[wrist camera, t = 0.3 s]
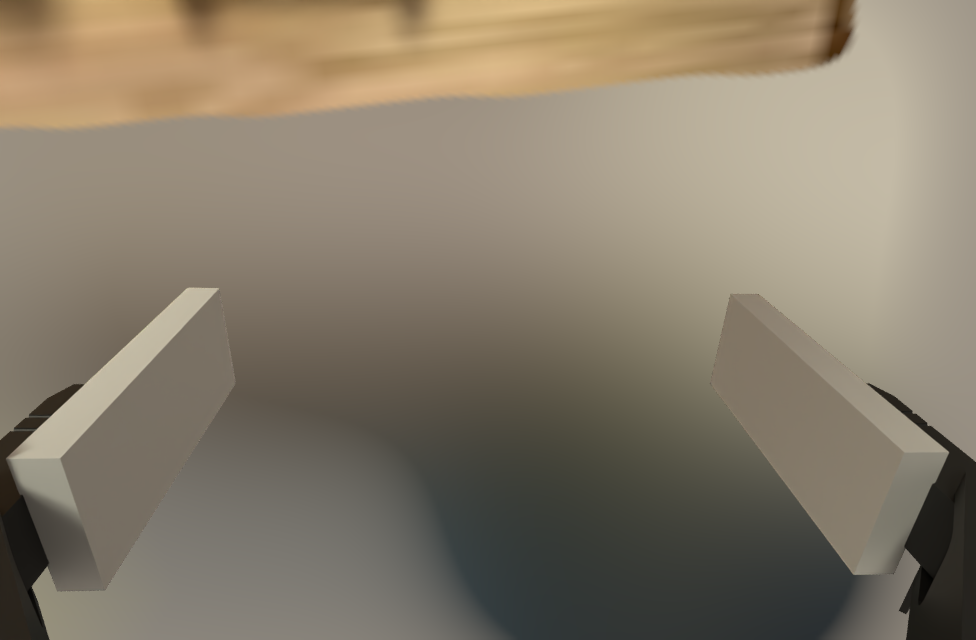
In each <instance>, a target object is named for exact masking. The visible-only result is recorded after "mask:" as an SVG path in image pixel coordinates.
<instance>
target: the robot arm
mask: <svg viewBox="0 0 976 640" xmlns="http://www.w3.org/2000/svg"><path fill="white" fill-rule="evenodd" d="M710 384H711V385H712V386H713V388H714V389H715V391H716V392H717V393H718V395H719V396H720V397H721V399H722V400H723V401H724V403H725V404H726V405H727V407H728V408H729V409H730V411H731V412H732V413H733V415H734V416H735V417H736V419H737V420H738V421H739V423H740V424H741V425H742V427H743V428H744V429H745V431H746V432H747V433H748V435H749V436H750V437H751V439H752V440H753V441H754V443H755V444H756V445H757V447H758V448H759V449H760V451H761V452H762V453H763V455H764V456H765V457H766V458H767V460H768V461H769V463H770V464H771V465H772V467H773V468H774V469H775V471H776V472H777V473H778V475H779V476H780V477H781V479H782V480H783V481H784V482H785V484H786V485H787V487H788V488H789V489H790V491H791V492H792V493H793V495H794V496H795V497H796V499H797V500H798V501H799V502H800V504H801V505H802V506H803V508H804V509H805V511H806V512H807V513H808V515H809V516H810V517H811V518H812V520H813V521H814V523H815V524H816V525H817V527H818V528H819V529H820V531H821V532H822V533H823V535H825V537H826V539H827V540H828V541H829V543H830V544H831V545H832V547H833V548H834V549H835V551H836V552H837V553H838V554H839V556H840V557H841V559H842V560H843V561H844V563H845V564H846V565H847V567H848V568H849V569H850V570H851V572H852V573H853V574H854V575H867V574H894V572H895V570H896V568H897V566H898V563H899V561H900V559H901V557H902V555H903V553H904V550H905V548H906V549H907V550H908V551H909V552H910V554H911V555H912V556H913V557H914V558H915V559H916V560H917V561H918V563H919V564H920V565H921V566H920V568H919V570H918V572H917V574H916V576H915V578H914V580H913V582H912V584H911V587H910V589H909V591H908V593H907V595H906V597H905V599H904V601H903V603H902V605H901V607H900V610H899V611H901V612H903V613H905V614H906V613H907V612H908V610H909V609H910V612H909V620H908V630H907V637H906V640H976V462H975V461H974V460H973V459H971V458H970V457H969V456H968V455H966V454H965V453H964V452H963V451H962V450H960V449H959V448H958V447H956V446H955V445H954V444H953V443H952V442H950V441H949V440H948V439H946V438H945V437H944V436H943V435H942V434H940V433H939V432H938V431H937V430H935V429H934V428H933V427H931V426H927V422H925V421H924V420H923V419H921V417H919V416H918V415H917V414H913V413H912V410H911V409H909V408H908V407H907V406H906V405H904V404H903V403H902V402H901V401H899V400H898V399H897V398H896V397H894V396H893V395H891V394H889V393H887V392H885V391H883V390H881V389H879V388H877V387H875V386H873V385H871V384H866V383H865V382H864V381H863V380H861V379H860V378H859V377H857V375H855V374H854V373H853V372H852V371H850V370H849V369H848V368H847V367H846V366H844V365H843V364H842V363H841V362H840V361H838V360H837V359H836V358H835V357H833V356H832V355H831V354H830V353H829V352H827V351H826V350H825V349H824V348H823V347H822V346H820V345H819V344H818V343H817V342H816V341H814V340H813V339H812V338H811V337H810V336H808V335H807V334H806V333H805V332H803V331H802V330H801V329H800V328H799V327H797V326H796V325H795V324H794V323H793V322H791V321H790V320H789V319H788V318H787V317H785V316H784V315H783V314H782V313H781V312H779V311H778V310H777V309H776V308H775V307H773V306H772V305H771V304H770V303H769V302H767V301H766V300H765V299H764V298H763V297H761V296H760V295H759V294H730V298H729V303H728V308H727V312H726V316H725V321H724V325H723V329H722V334H721V338H720V342H719V347H718V351H717V356H716V360H715V365H714V369H713V373H712V378H711V382H710ZM234 385H235V377H234V371H233V366H232V360H231V354H230V347H229V342H228V336H227V330H226V325H225V318H224V313H223V307H222V301H221V295H220V289H219V288H187V289H186V290H185V291H184V292H183V293H182V294H181V295H180V296H178V297H177V298H176V299H175V300H174V301H173V302H172V303H171V304H170V305H169V306H168V307H167V308H166V309H165V310H164V311H162V312H161V314H159V315H158V316H157V317H156V318H155V319H154V320H153V321H152V322H151V323H150V324H149V325H148V326H147V327H145V328H144V329H143V330H142V331H141V332H140V333H139V334H138V335H137V336H136V337H135V338H134V339H133V340H132V341H131V342H129V344H127V345H126V346H125V347H124V348H123V349H122V350H121V351H120V352H119V353H118V354H117V355H116V356H115V357H113V358H112V359H111V360H110V361H109V362H108V363H107V364H106V365H105V366H104V367H103V368H102V369H101V370H100V371H99V372H98V373H96V374H95V375H94V376H93V377H92V378H91V379H90V380H89V381H88V382H87V383H86V384H80V385H79V384H74V385H72V386H70V387H68V388H66V389H65V390H62V391H60V392H59V393H57V394H55V395H53V396H51V397H49V398H47V399H46V400H45V401H44V402H43V403H42V404H40V405H39V406H38V407H37V408H36V409H35V410H34V411H33V412H31V413H30V414H29V418H25V419H24V420H23V421H21V422H20V423H19V424H18V425H17V426H16V427H15V428H14V431H13V432H11V431H10V432H9V433H8V434H7V435H6V436H5V437H3V438H2V439H1V440H0V640H49V637H48V634H47V631H46V627H45V624H44V620H43V617H42V614H41V611H40V607H39V604H38V601H37V598H36V596H35V594H34V591H33V589H32V585H33V583H34V582H35V581H36V580H37V579H38V577H39V576H40V575H41V573H42V572H43V571H44V569H45V568H46V567H47V566H48V569H49V571H50V574H51V576H52V579H53V581H54V584H55V586H56V589H57V591H96V590H97V591H99V590H106V588H107V586H108V585H109V583H110V582H111V580H112V578H113V577H114V575H115V574H116V572H117V570H118V569H119V567H120V566H121V564H122V563H123V561H124V559H125V558H126V556H127V555H128V553H129V552H130V550H131V548H132V547H133V545H134V544H135V542H136V540H137V539H138V537H139V536H140V534H141V532H142V530H143V529H144V528H145V526H146V525H147V523H148V521H149V520H150V518H151V517H152V515H153V513H154V512H155V510H156V509H157V507H158V506H159V504H160V502H161V500H162V499H163V498H164V496H165V494H166V493H167V491H168V490H169V488H170V486H171V485H172V483H173V482H174V480H175V478H176V477H177V475H178V474H179V472H180V470H181V469H182V467H183V466H184V464H185V463H186V461H187V459H188V458H189V456H190V455H191V453H192V451H193V450H194V448H195V447H196V445H197V443H198V442H199V440H200V439H201V437H202V436H203V434H204V432H205V431H206V429H207V428H208V426H209V425H210V423H211V421H212V420H213V418H214V417H215V415H216V413H217V412H218V410H219V408H220V407H221V405H222V404H223V402H224V401H225V399H226V398H227V396H228V394H229V393H230V391H231V390H232V388H233V386H234Z"/></svg>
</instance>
